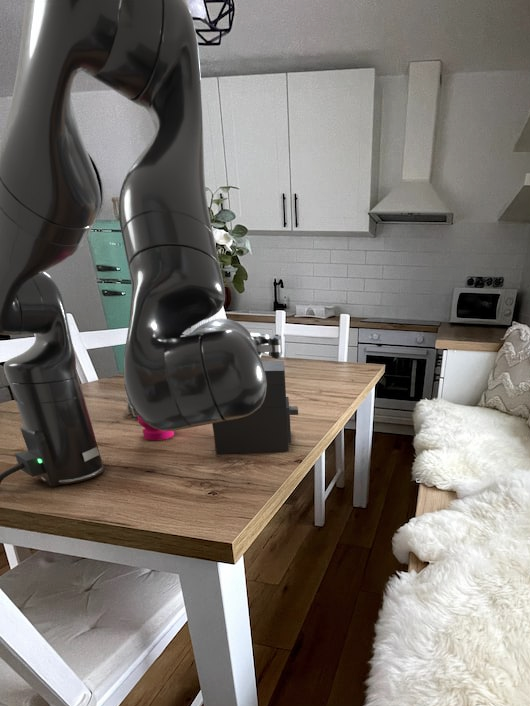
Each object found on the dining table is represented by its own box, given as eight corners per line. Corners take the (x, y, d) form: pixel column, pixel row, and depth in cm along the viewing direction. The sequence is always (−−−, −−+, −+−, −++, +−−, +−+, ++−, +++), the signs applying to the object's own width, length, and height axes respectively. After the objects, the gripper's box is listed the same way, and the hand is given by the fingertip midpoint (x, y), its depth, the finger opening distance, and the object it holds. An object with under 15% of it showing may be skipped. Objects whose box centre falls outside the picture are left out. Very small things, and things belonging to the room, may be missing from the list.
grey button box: (298, 432, 97) (295, 360, 89) (300, 451, 85) (297, 370, 78) (223, 434, 93) (214, 360, 86) (216, 454, 82) (204, 371, 75)
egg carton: (125, 413, 108) (122, 398, 106) (154, 408, 112) (151, 394, 111) (139, 421, 101) (136, 405, 99) (169, 416, 106) (166, 400, 104)
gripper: (281, 321, 46) (279, 315, 61) (151, 319, 44) (181, 313, 58) (285, 385, 50) (282, 365, 64) (164, 387, 47) (189, 365, 61)
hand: (234, 340), depth 61 cm, fingers open, 8 cm apart
